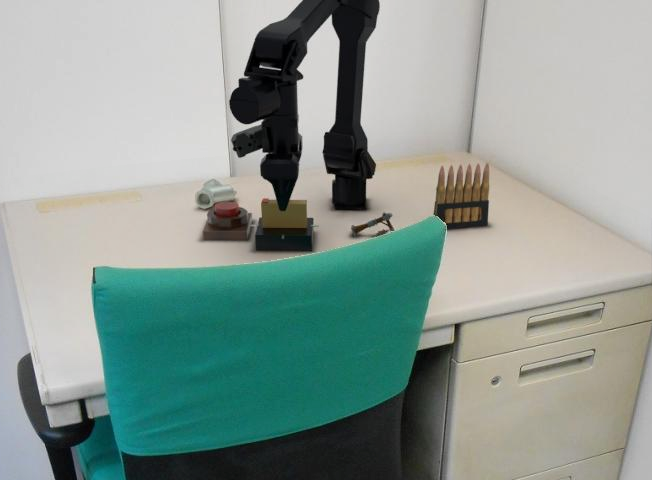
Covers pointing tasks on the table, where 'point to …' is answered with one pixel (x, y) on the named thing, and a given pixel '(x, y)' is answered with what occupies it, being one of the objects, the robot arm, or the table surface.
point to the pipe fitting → (214, 194)
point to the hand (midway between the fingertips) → (284, 201)
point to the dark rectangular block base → (284, 238)
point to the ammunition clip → (463, 198)
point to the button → (226, 209)
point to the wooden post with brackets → (372, 223)
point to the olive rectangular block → (284, 214)
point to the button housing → (227, 226)
